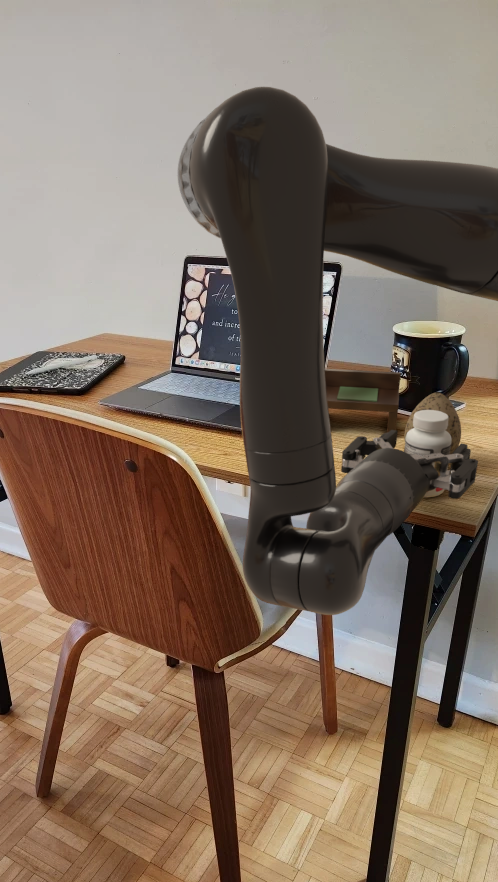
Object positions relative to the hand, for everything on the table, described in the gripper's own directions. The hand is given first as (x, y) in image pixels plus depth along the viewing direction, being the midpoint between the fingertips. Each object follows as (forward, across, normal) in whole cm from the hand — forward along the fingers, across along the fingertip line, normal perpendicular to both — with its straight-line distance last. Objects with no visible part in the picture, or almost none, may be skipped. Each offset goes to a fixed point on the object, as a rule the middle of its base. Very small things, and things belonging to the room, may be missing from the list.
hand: (427, 444), depth 83 cm
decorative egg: (+8, +2, +6) cm, 10 cm away
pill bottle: (0, 0, +6) cm, 6 cm away
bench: (+16, +16, +6) cm, 24 cm away
